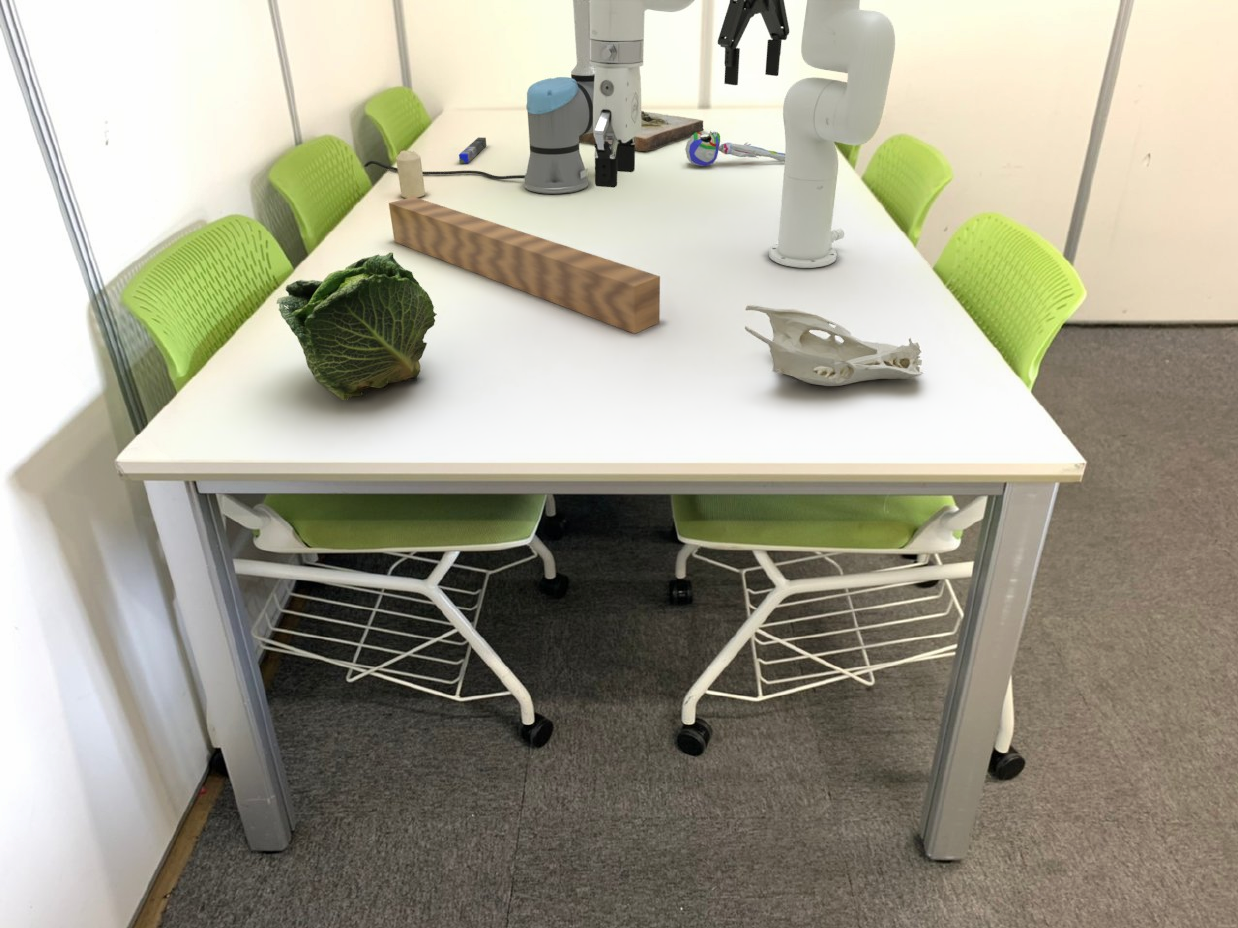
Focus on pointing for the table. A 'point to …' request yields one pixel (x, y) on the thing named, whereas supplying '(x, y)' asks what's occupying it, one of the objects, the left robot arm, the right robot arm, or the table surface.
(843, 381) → the anatomical model
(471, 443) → the table surface
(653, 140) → the plaque
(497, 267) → the bar
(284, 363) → the table surface
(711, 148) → the toy
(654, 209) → the table surface
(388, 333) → the vegetable
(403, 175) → the candle
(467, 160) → the grey and blue rod
